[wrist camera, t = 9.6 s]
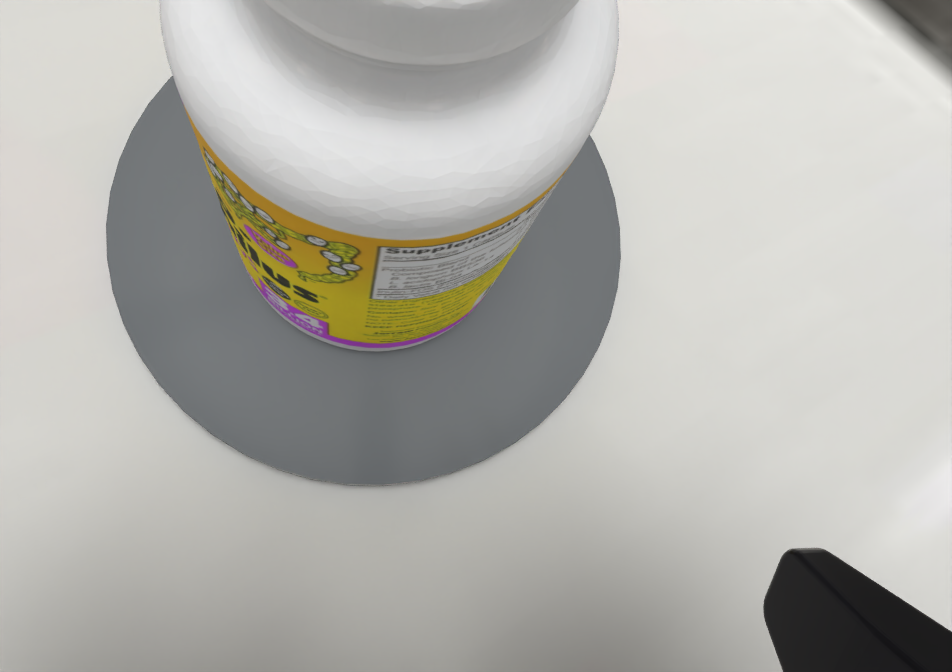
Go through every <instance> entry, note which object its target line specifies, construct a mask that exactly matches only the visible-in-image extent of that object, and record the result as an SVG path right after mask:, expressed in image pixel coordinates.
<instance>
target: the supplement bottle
mask: <svg viewBox="0 0 952 672" xmlns="http://www.w3.org/2000/svg"><path fill="white" fill-rule="evenodd" d="M160 19H161V30H162V36H163V41H164V45H165V50H166V55H167V59H168V62H169V65H170V68H171V71H172V74H173V77H174V80H175V84H176V87H177V89H178V92H179V95H180V97H181V100H182V102H183V105H184V108H185V110H186V113H187V115H188V118H189V120H190V123H191V126H192V128H193V131H194V133H195V136H196V138H197V141H198V144H199V147H200V150H201V153H202V156H203V159H204V161H205V164H206V167H207V170H208V173H209V175H210V178H211V180H212V183H213V186H214V188H215V191H216V194H217V196H218V199H219V201H220V205H221V209H222V211H223V213H224V215H225V218H226V221H227V223H228V226H229V229H230V231H231V234H232V236H233V239H234V241H235V244H236V247H237V249H238V252H239V255H240V257H241V259H242V261H243V264H244V266H245V268H246V270H247V272H248V274H249V276H250V278H251V280H252V282H253V283H254V285H255V286H256V288H257V289H258V291H259V292H260V294H261V295H262V296H263V297H264V299H265V300H266V301H267V302H268V303H269V305H270V306H271V307H272V308H273V309H274V310H275V311H276V312H277V313H278V314H279V315H280V316H282V317H283V318H284V319H285V320H286V321H288V322H289V323H290V324H292V325H293V326H295V327H296V328H298V329H299V330H301V331H302V332H304V333H306V334H308V335H310V336H312V337H314V338H316V339H319V340H321V341H324V342H326V343H329V344H332V345H335V346H338V347H342V348H347V349H352V350H358V351H390V350H397V349H404V348H408V347H412V346H415V345H418V344H421V343H424V342H426V341H428V340H430V339H433V338H435V337H437V336H439V335H441V334H443V333H444V332H446V331H448V330H450V329H451V328H452V327H454V326H455V325H457V324H458V323H459V322H460V321H462V320H463V319H464V318H465V317H466V316H467V315H469V314H470V313H471V312H472V311H473V310H474V308H475V307H476V306H477V305H478V304H479V303H480V302H481V301H482V299H483V298H484V297H485V295H486V294H487V293H488V291H489V290H490V288H491V287H492V286H493V284H494V282H495V281H496V279H497V278H498V276H499V275H500V273H501V272H502V270H503V268H504V267H505V265H506V264H507V262H508V260H509V259H510V257H511V256H512V254H513V253H514V252H515V250H516V249H517V247H518V245H519V243H520V242H521V240H522V239H523V237H524V236H525V234H526V232H527V231H528V229H529V228H530V226H531V225H532V223H533V222H534V220H535V219H536V217H537V215H538V214H539V212H540V210H541V209H542V207H543V206H544V204H545V203H546V201H547V200H548V198H549V197H550V195H551V194H552V192H553V190H554V189H555V187H556V186H557V184H558V183H559V181H560V180H561V178H562V177H563V175H564V174H565V172H566V171H567V169H568V168H569V166H570V165H571V163H572V162H573V160H574V159H575V157H576V156H577V154H578V153H579V151H580V150H581V148H582V146H583V144H584V143H585V141H586V139H587V137H588V136H589V134H590V133H591V131H592V130H593V128H594V126H595V124H596V122H597V120H598V118H599V116H600V114H601V112H602V109H603V107H604V104H605V102H606V99H607V96H608V93H609V90H610V86H611V82H612V79H613V75H614V71H615V65H616V57H617V50H618V41H619V15H618V6H617V0H160Z"/></svg>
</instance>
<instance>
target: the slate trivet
mask: <svg viewBox="0 0 952 672" xmlns="http://www.w3.org/2000/svg"><path fill="white" fill-rule="evenodd" d="M106 235H107V261H108V266H109V272H110V278H111V284H112V290H113V294H114V297H115V300H116V303H117V306H118V309H119V312H120V315H121V318H122V321H123V324H124V326H125V328H126V330H127V332H128V334H129V336H130V338H131V340H132V342H133V344H134V346H135V348H136V350H137V352H138V354H139V356H140V357H141V359H142V360H143V362H144V363H145V365H146V366H147V368H148V369H149V370H150V372H151V373H152V375H153V376H154V378H155V379H156V381H157V382H158V383H159V385H160V386H161V387H162V388H163V389H164V390H165V391H166V392H167V394H168V395H169V396H170V397H171V398H172V399H173V400H174V401H175V402H176V403H177V404H178V405H179V407H180V408H181V409H182V410H183V411H184V412H185V413H187V414H188V415H189V416H190V417H192V418H193V419H194V420H195V421H196V422H198V423H199V424H200V425H201V426H203V427H204V428H205V429H206V430H207V431H209V432H210V433H211V434H212V435H214V436H215V437H217V438H218V439H220V440H222V441H223V442H225V443H227V444H228V445H230V446H231V447H233V448H235V449H236V450H238V451H240V452H241V453H243V454H244V455H246V456H248V457H251V458H253V459H255V460H258V461H260V462H262V463H264V464H267V465H269V466H271V467H273V468H276V469H278V470H281V471H285V472H288V473H291V474H295V475H298V476H302V477H305V478H309V479H312V480H318V481H325V482H331V483H338V484H344V485H377V486H383V485H392V484H401V483H410V482H418V481H422V480H426V479H430V478H434V477H438V476H442V475H446V474H450V473H452V472H455V471H457V470H460V469H462V468H465V467H467V466H470V465H472V464H475V463H477V462H480V461H482V460H485V459H486V458H488V457H490V456H492V455H494V454H495V453H497V452H499V451H501V450H502V449H504V448H506V447H508V446H510V445H511V444H513V443H515V442H516V441H518V440H519V439H520V438H521V437H523V436H524V435H525V434H527V433H528V432H529V431H531V430H532V429H533V428H535V427H536V426H537V425H539V424H540V423H541V422H542V421H543V420H544V419H545V418H546V417H547V416H548V415H549V414H550V413H551V412H552V411H553V410H554V409H555V408H556V407H557V406H558V405H559V404H560V403H561V402H562V401H563V400H564V399H565V398H566V397H567V395H568V394H569V393H570V391H571V390H572V389H573V387H574V386H575V385H576V383H577V382H578V381H579V380H580V378H581V377H582V376H583V374H584V373H585V371H586V369H587V367H588V365H589V364H590V362H591V360H592V358H593V357H594V355H595V353H596V351H597V349H598V348H599V345H600V343H601V340H602V338H603V335H604V333H605V330H606V328H607V325H608V323H609V320H610V317H611V313H612V309H613V305H614V301H615V297H616V292H617V288H618V279H619V269H620V259H621V254H620V227H619V221H618V215H617V209H616V202H615V197H614V194H613V191H612V187H611V184H610V181H609V177H608V174H607V171H606V168H605V166H604V164H603V161H602V159H601V157H600V154H599V152H598V150H597V148H596V145H595V143H594V141H593V140H592V138H591V136H590V135H589V136H588V137H587V139H586V141H585V143H584V144H583V146H582V148H581V150H580V151H579V153H578V154H577V156H576V157H575V159H574V160H573V162H572V163H571V165H570V166H569V168H568V169H567V171H566V172H565V174H564V175H563V177H562V178H561V180H560V181H559V183H558V184H557V186H556V187H555V189H554V190H553V192H552V194H551V195H550V197H549V198H548V200H547V201H546V203H545V204H544V206H543V207H542V209H541V210H540V212H539V214H538V215H537V217H536V219H535V220H534V222H533V223H532V225H531V226H530V228H529V229H528V231H527V232H526V234H525V236H524V237H523V239H522V240H521V242H520V243H519V245H518V247H517V249H516V250H515V252H514V253H513V254H512V256H511V257H510V259H509V260H508V262H507V264H506V265H505V267H504V268H503V270H502V272H501V273H500V275H499V276H498V278H497V279H496V281H495V282H494V284H493V286H492V287H491V288H490V290H489V291H488V293H487V294H486V295H485V297H484V298H483V299H482V301H481V302H480V303H479V304H478V305H477V306H476V307H475V308H474V310H473V311H472V312H471V313H470V314H469V315H467V316H466V317H465V318H464V319H463V320H462V321H460V322H459V323H458V324H457V325H455V326H454V327H452V328H451V329H450V330H448V331H446V332H444V333H443V334H441V335H439V336H437V337H435V338H433V339H430V340H428V341H426V342H424V343H421V344H418V345H415V346H412V347H408V348H404V349H397V350H390V351H358V350H352V349H347V348H342V347H338V346H335V345H332V344H329V343H326V342H324V341H321V340H319V339H316V338H314V337H312V336H310V335H308V334H306V333H304V332H302V331H301V330H299V329H298V328H296V327H295V326H293V325H292V324H290V323H289V322H288V321H286V320H285V319H284V318H283V317H282V316H280V315H279V314H278V313H277V312H276V311H275V310H274V309H273V308H272V307H271V306H270V305H269V303H268V302H267V301H266V300H265V299H264V297H263V296H262V295H261V294H260V292H259V291H258V289H257V288H256V286H255V285H254V283H253V282H252V280H251V278H250V276H249V274H248V272H247V270H246V268H245V266H244V264H243V261H242V259H241V257H240V255H239V252H238V249H237V247H236V244H235V241H234V239H233V236H232V234H231V231H230V229H229V226H228V223H227V221H226V218H225V215H224V213H223V211H222V209H221V205H220V201H219V199H218V196H217V194H216V191H215V188H214V186H213V183H212V180H211V178H210V175H209V173H208V170H207V167H206V164H205V161H204V159H203V156H202V153H201V150H200V147H199V144H198V141H197V138H196V136H195V133H194V131H193V128H192V126H191V123H190V120H189V118H188V115H187V113H186V110H185V108H184V105H183V102H182V100H181V97H180V95H179V92H178V89H177V87H176V84H175V80H174V77H173V76H172V77H171V78H170V79H169V80H168V81H167V82H166V83H165V85H164V86H163V87H162V88H161V90H160V91H159V92H158V93H157V94H156V96H155V97H154V98H153V99H152V100H151V102H150V103H149V104H148V106H147V107H146V109H145V111H144V112H143V114H142V115H141V117H140V119H139V120H138V122H137V123H136V125H135V127H134V128H133V130H132V132H131V134H130V136H129V139H128V141H127V143H126V146H125V148H124V150H123V152H122V155H121V157H120V159H119V162H118V166H117V169H116V173H115V177H114V180H113V184H112V188H111V191H110V198H109V206H108V215H107V223H106Z"/></svg>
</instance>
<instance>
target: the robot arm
mask: <svg viewBox="0 0 952 672" xmlns="http://www.w3.org/2000/svg"><path fill="white" fill-rule="evenodd" d="M763 608H764V618H765V622H766V625H767V628H768V631H769V633H770V636H771V639H772V642H773V645H774V647H775V650H776V653H777V656H778V658H779V661H780V664H781V667H782V670H783V672H952V632H951V631H950V630H948V629H947V628H945V627H944V626H942V625H940V624H939V623H937V622H936V621H934V620H933V619H931V618H930V617H928V616H927V615H925V614H924V613H922V612H920V611H919V610H917V609H916V608H914V607H913V606H911V605H910V604H908V603H907V602H905V601H904V600H902V599H901V598H899V597H897V596H896V595H894V594H893V593H891V592H890V591H888V590H887V589H885V588H884V587H882V586H881V585H879V584H877V583H876V582H874V581H873V580H871V579H870V578H868V577H867V576H865V575H864V574H862V573H861V572H859V571H858V570H856V569H854V568H853V567H851V566H850V565H848V564H847V563H845V562H844V561H842V560H841V559H839V558H838V557H836V556H834V555H833V554H831V553H830V552H828V551H826V550H824V549H821V548H797V549H790V550H788V551H787V552H785V553H784V554H783V556H782V557H781V559H780V562H779V564H778V567H777V569H776V572H775V574H774V576H773V579H772V581H771V584H770V586H769V589H768V591H767V594H766V596H765V599H764V606H763Z"/></svg>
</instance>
